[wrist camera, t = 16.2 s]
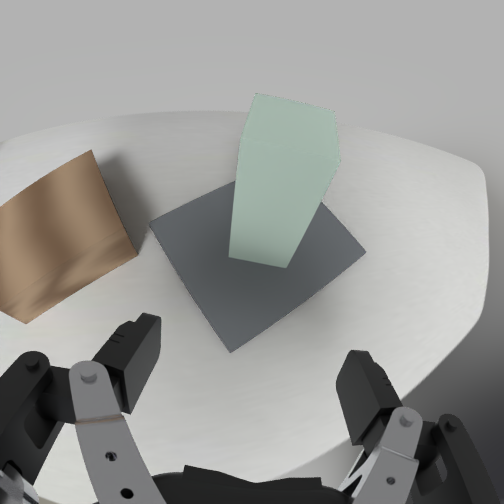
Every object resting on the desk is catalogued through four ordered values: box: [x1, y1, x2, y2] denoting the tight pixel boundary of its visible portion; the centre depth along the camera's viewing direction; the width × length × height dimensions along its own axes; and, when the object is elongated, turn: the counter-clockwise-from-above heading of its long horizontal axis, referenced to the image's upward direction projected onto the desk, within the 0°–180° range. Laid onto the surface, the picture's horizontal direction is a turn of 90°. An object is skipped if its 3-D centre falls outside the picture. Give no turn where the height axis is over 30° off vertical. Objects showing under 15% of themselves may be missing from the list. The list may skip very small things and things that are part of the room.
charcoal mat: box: [149, 181, 366, 353], centre depth 22 cm, size 14×12×1 cm
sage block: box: [229, 93, 341, 268], centre depth 17 cm, size 4×4×11 cm
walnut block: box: [0, 150, 138, 324], centre depth 18 cm, size 12×10×4 cm
